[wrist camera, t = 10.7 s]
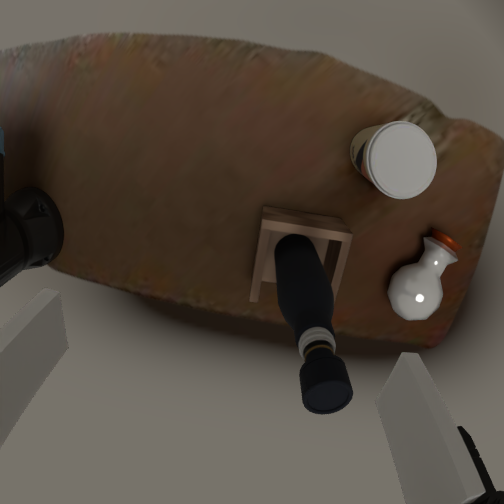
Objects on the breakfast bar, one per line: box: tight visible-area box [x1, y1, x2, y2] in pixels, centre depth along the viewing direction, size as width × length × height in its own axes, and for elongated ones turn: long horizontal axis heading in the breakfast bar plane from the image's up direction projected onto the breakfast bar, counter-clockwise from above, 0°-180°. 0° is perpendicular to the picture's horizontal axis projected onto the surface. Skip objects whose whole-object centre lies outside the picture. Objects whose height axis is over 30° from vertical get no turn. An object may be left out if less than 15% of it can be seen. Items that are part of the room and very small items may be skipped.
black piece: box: [274, 234, 353, 414], centre depth 36 cm, size 6×6×30 cm
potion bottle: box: [387, 227, 462, 320], centre depth 47 cm, size 9×10×15 cm
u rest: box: [249, 205, 353, 303], centre depth 47 cm, size 12×12×8 cm
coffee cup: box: [350, 121, 437, 199], centre depth 39 cm, size 9×9×12 cm
